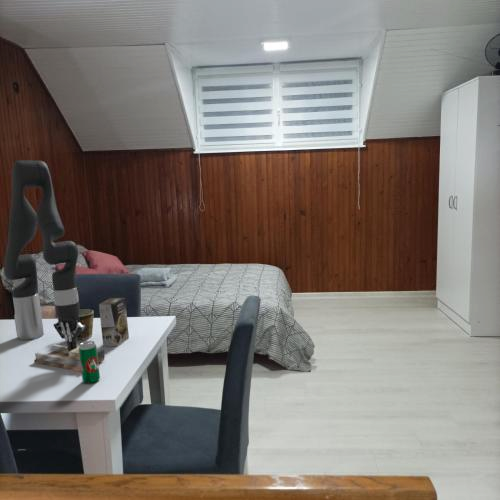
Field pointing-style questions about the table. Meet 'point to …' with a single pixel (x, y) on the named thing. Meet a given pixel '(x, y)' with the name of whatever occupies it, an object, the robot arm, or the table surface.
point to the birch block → (74, 354)
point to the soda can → (89, 362)
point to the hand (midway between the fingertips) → (72, 350)
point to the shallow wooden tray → (62, 358)
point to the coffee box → (113, 321)
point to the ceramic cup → (86, 323)
